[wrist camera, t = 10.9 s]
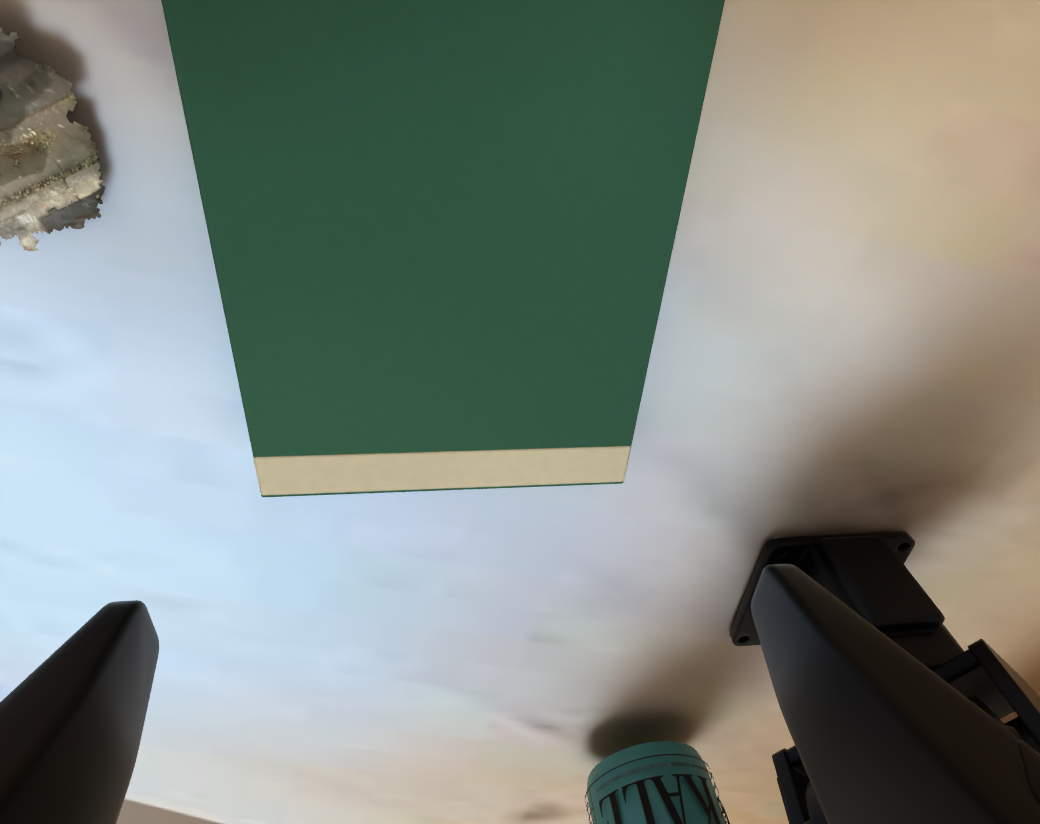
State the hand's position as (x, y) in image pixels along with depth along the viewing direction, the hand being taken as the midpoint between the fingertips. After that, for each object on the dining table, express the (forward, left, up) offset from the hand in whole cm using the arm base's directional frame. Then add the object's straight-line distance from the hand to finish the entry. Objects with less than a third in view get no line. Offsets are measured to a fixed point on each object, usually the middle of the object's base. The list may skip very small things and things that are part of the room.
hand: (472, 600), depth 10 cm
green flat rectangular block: (+3, 0, -11) cm, 12 cm away
